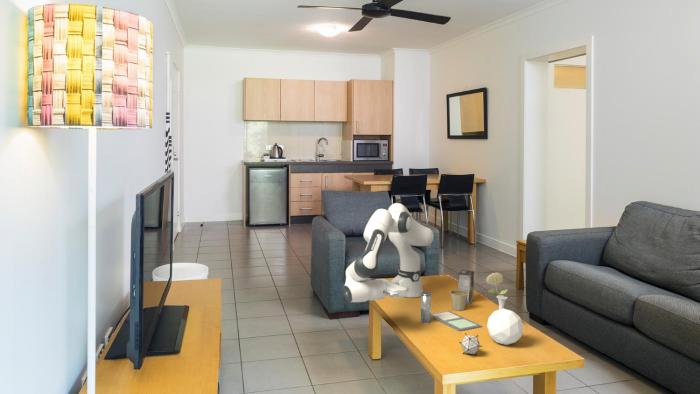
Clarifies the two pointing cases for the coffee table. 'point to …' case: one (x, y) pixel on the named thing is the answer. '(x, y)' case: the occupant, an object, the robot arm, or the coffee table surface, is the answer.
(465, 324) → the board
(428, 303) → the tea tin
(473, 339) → the game die
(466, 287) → the coffee box
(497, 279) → the flower in vase
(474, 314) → the coffee table surface
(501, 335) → the geometric sphere
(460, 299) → the flower pot
